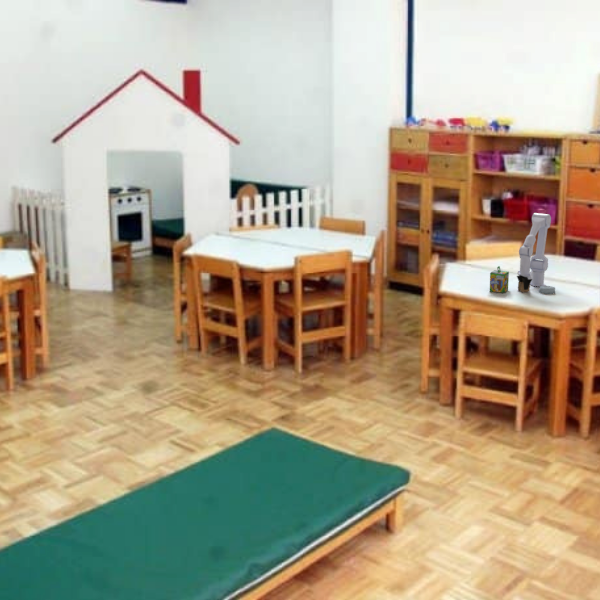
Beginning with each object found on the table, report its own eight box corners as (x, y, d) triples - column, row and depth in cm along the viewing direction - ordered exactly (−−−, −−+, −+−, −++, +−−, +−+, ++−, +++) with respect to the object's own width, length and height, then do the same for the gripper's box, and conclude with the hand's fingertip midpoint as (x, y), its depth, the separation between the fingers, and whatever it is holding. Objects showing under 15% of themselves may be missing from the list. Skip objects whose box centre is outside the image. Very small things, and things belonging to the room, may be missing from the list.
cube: (517, 290, 525) (518, 282, 524) (525, 289, 526) (526, 281, 525) (521, 292, 520) (522, 283, 519) (529, 291, 521) (529, 283, 520)
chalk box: (504, 293, 518) (505, 268, 514) (488, 291, 522) (490, 267, 519) (508, 290, 526) (509, 265, 522) (493, 288, 530) (494, 264, 526)
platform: (536, 291, 523) (536, 286, 522) (549, 290, 525) (550, 285, 524) (544, 294, 514) (544, 289, 514) (557, 293, 517) (558, 288, 516)
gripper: (513, 264, 525) (512, 286, 529) (524, 269, 512) (523, 291, 515) (524, 263, 527) (523, 285, 530) (535, 268, 513) (534, 291, 516)
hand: (523, 288), depth 523 cm, fingers closed on cube, 5 cm apart
